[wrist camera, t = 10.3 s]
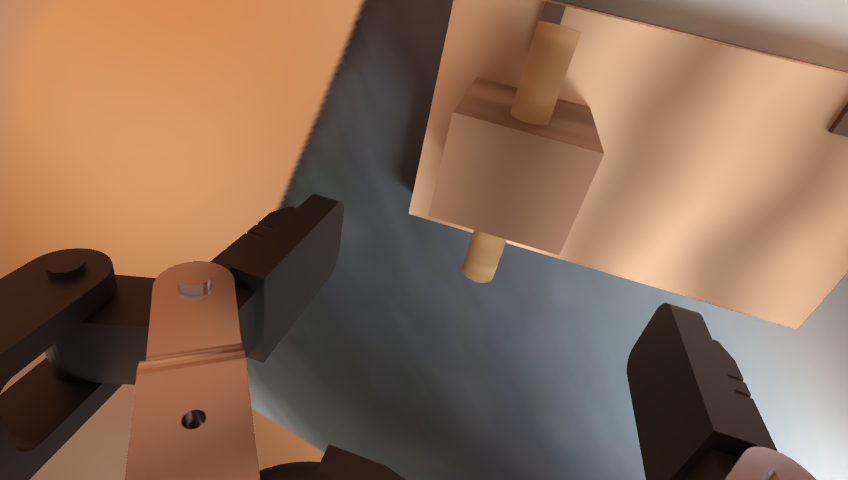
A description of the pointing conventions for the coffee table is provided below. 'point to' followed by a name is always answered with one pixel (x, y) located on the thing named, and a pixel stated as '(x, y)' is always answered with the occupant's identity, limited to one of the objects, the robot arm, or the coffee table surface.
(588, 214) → the board
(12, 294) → the robot arm
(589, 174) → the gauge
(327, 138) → the coffee table surface
